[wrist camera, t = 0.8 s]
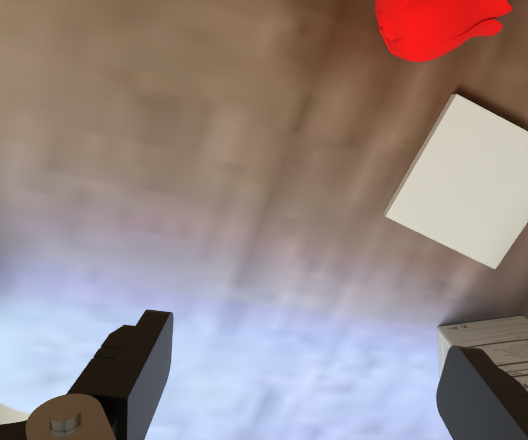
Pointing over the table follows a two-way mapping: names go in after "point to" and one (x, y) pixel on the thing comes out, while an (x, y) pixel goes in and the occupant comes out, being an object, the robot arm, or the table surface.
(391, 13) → the flower
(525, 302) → the table surface
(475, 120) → the pad
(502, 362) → the supplement box
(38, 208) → the table surface
